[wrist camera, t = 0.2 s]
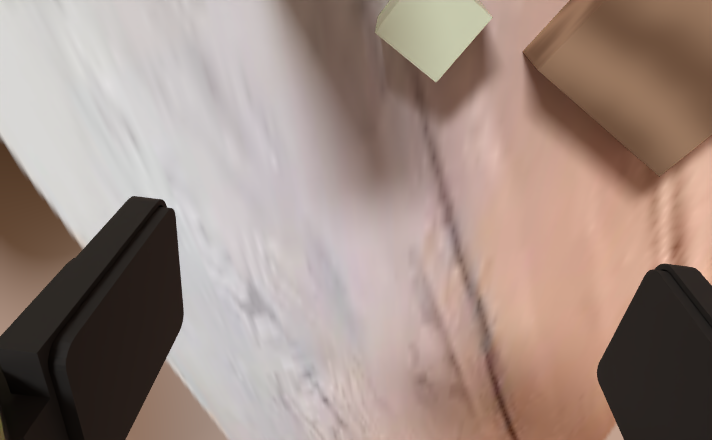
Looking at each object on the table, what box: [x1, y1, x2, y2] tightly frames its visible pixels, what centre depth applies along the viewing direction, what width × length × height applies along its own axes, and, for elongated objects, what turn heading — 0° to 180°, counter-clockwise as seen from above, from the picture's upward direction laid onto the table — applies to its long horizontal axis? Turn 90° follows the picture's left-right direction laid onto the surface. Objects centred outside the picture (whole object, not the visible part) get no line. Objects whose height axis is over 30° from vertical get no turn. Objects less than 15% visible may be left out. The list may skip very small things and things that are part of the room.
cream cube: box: [375, 0, 493, 82], centre depth 33 cm, size 5×5×5 cm
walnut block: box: [523, 0, 712, 177], centre depth 33 cm, size 12×12×5 cm
